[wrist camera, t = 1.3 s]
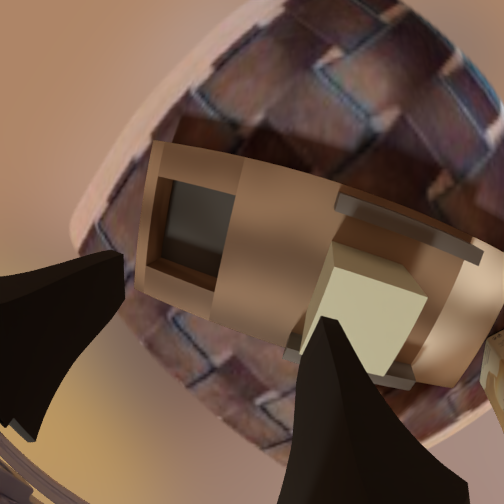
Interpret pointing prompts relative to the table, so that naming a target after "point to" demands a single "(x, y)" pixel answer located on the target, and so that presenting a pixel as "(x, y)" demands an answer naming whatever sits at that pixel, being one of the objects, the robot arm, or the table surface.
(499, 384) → the skincare box
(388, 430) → the robot arm
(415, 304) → the sage block
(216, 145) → the table surface
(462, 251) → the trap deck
